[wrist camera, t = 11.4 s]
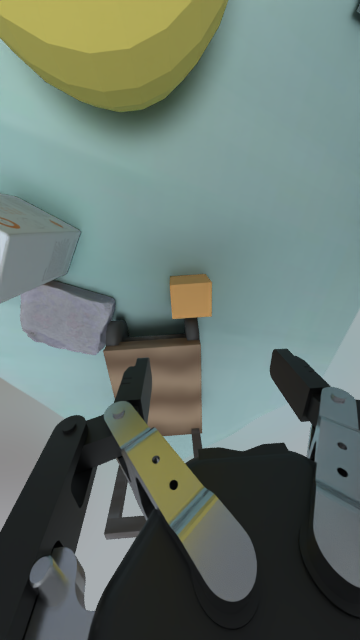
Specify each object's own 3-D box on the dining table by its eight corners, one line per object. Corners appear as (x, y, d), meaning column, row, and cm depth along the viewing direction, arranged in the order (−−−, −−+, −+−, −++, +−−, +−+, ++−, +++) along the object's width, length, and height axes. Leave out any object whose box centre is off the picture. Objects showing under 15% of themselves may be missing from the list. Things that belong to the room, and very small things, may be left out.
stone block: (111, 343, 35) (120, 293, 29) (101, 363, 31) (108, 311, 25) (39, 323, 33) (33, 267, 28) (18, 342, 29) (7, 281, 24)
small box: (5, 245, 26) (-134, 258, 14) (15, 195, 24) (-138, 160, 12) (68, 275, 28) (-8, 309, 16) (83, 231, 26) (8, 232, 14)
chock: (205, 273, 29) (211, 282, 24) (205, 303, 31) (211, 316, 26) (170, 276, 29) (169, 285, 24) (172, 305, 30) (172, 318, 26)
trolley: (114, 314, 31) (47, 415, 14) (194, 309, 31) (222, 402, 14) (133, 411, 39) (106, 548, 22) (196, 406, 39) (216, 539, 22)
